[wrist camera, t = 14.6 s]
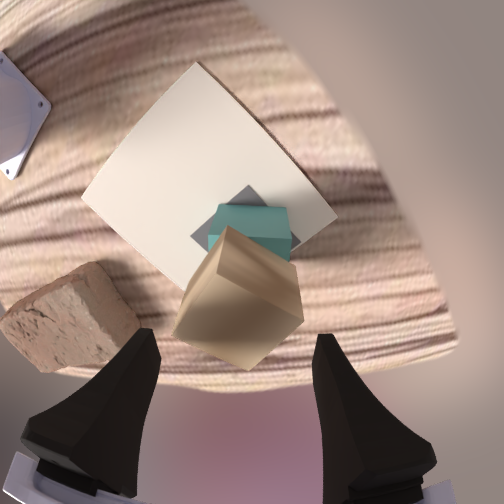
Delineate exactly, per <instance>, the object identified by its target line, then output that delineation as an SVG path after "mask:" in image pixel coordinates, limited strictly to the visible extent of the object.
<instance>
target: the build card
mask: <svg viewBox="0 0 504 504" xmlns="http://www.w3.org/2000/svg"><path fill="white" fill-rule="evenodd" d="M81 199H82V200H83V201H84V202H85V203H86V204H87V205H89V206H90V207H91V208H92V209H93V210H94V211H95V212H96V213H97V214H98V215H99V216H100V217H101V218H102V219H103V220H104V221H105V222H106V223H107V224H108V225H109V226H110V227H112V228H113V229H114V230H115V231H116V232H117V233H118V234H119V235H120V236H121V237H122V238H123V239H125V240H126V241H127V242H128V243H129V244H130V245H131V246H132V247H133V248H134V249H136V250H137V251H138V252H139V253H140V254H141V255H142V256H143V257H145V258H146V259H147V260H148V261H149V262H150V263H151V264H153V265H154V266H155V267H156V268H157V269H158V270H159V271H161V272H162V273H163V274H164V275H165V276H166V277H168V278H169V279H170V280H171V281H172V282H174V283H175V284H176V285H177V286H178V287H179V288H181V289H182V290H183V291H184V292H185V291H186V288H187V285H188V282H189V280H190V279H191V277H192V276H193V274H194V273H195V271H196V270H197V268H198V267H199V265H200V264H201V263H202V261H203V260H204V258H205V257H206V255H207V254H208V252H209V249H208V233H209V230H210V228H211V225H212V222H213V219H214V216H215V213H216V211H217V208H218V205H219V204H227V205H250V206H269V207H286V209H287V215H288V220H289V225H290V230H291V236H292V244H291V252H292V251H294V250H295V249H296V248H298V247H299V246H300V245H302V244H303V243H304V242H306V241H307V240H309V239H310V238H311V237H313V236H314V235H315V234H317V233H318V232H319V231H321V230H322V229H323V228H325V227H326V226H327V225H329V224H330V223H331V222H333V221H334V220H335V219H337V218H338V216H337V214H336V213H335V212H334V211H333V209H332V208H331V207H330V206H329V204H328V203H327V202H326V201H325V199H324V198H323V197H322V196H321V194H320V193H319V192H318V191H317V190H316V188H315V187H314V186H313V185H312V184H311V182H310V181H309V180H308V179H307V178H306V176H305V175H304V174H303V173H302V172H301V171H300V169H299V168H298V167H297V166H296V165H295V164H294V162H293V161H292V160H291V159H290V158H289V157H288V156H287V154H286V153H285V152H284V151H283V150H282V149H281V148H280V147H279V145H278V144H277V143H276V142H275V141H274V140H273V139H272V138H271V137H270V136H269V134H268V133H267V132H266V131H265V130H264V129H263V128H262V127H261V126H260V125H259V124H258V123H257V122H256V120H255V119H254V118H253V117H252V116H251V115H250V114H249V113H248V112H247V111H246V110H245V109H244V108H243V107H242V106H241V105H240V104H239V103H238V102H237V101H236V100H235V99H234V98H233V97H232V96H231V95H230V94H229V93H228V92H227V91H226V90H225V89H224V88H223V87H222V86H221V85H220V84H219V83H218V82H217V81H216V80H215V79H214V78H213V77H212V76H211V75H210V74H209V73H208V72H207V71H205V70H204V69H203V68H202V67H201V66H200V65H199V64H198V63H197V62H195V63H194V64H193V65H192V66H191V67H190V68H189V69H188V70H187V71H186V72H185V73H184V74H183V75H182V76H181V77H180V78H179V79H178V80H177V81H176V82H175V83H174V84H173V85H172V86H171V87H170V88H169V89H168V90H167V91H166V92H165V93H164V94H163V95H162V96H161V97H160V98H159V99H158V100H157V101H156V102H155V103H154V105H153V106H152V107H151V108H150V109H149V110H148V111H147V112H146V113H145V115H144V116H143V117H142V118H141V119H140V120H139V121H138V123H137V124H136V125H135V126H134V127H133V129H132V130H131V131H130V132H129V133H128V135H127V136H126V137H125V138H124V139H123V141H122V142H121V143H120V144H119V146H118V147H117V148H116V150H115V151H114V152H113V153H112V155H111V156H110V157H109V159H108V160H107V161H106V163H105V164H104V165H103V167H102V168H101V169H100V171H99V172H98V174H97V175H96V176H95V178H94V179H93V181H92V182H91V183H90V185H89V186H88V188H87V189H86V191H85V192H84V194H83V195H82V197H81ZM291 252H290V253H291Z"/></svg>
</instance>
